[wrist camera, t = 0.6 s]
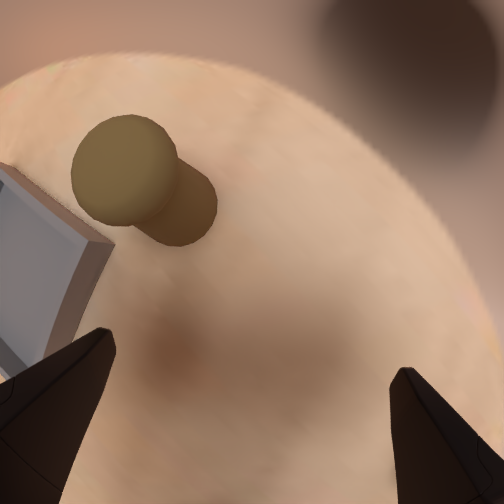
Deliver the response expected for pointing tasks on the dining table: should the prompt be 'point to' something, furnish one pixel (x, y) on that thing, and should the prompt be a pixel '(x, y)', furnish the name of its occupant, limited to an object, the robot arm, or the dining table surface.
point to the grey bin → (42, 272)
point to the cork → (141, 182)
